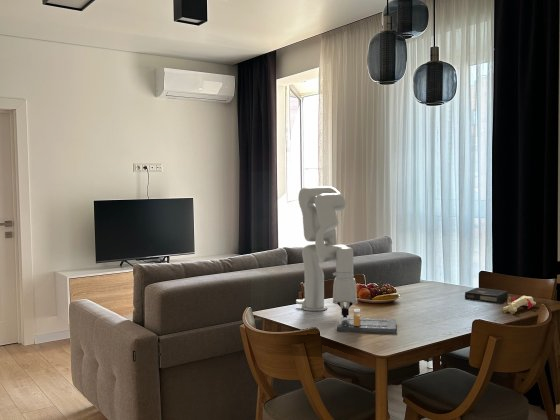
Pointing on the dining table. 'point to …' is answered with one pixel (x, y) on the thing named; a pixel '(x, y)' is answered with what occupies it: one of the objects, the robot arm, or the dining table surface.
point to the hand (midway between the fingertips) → (345, 316)
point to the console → (367, 325)
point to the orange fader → (356, 319)
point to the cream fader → (356, 311)
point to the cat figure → (518, 303)
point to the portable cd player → (486, 295)
